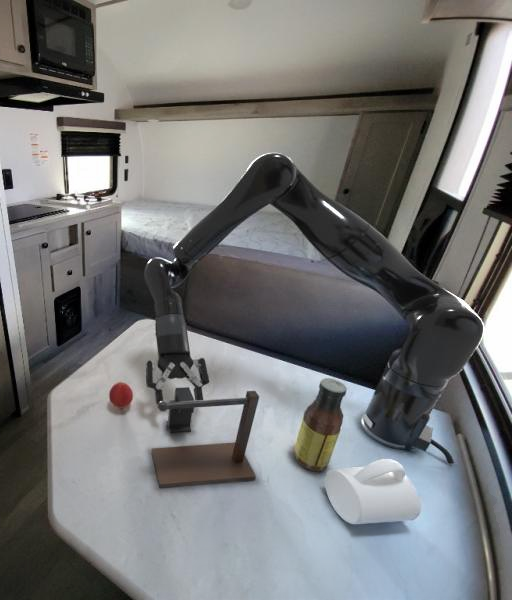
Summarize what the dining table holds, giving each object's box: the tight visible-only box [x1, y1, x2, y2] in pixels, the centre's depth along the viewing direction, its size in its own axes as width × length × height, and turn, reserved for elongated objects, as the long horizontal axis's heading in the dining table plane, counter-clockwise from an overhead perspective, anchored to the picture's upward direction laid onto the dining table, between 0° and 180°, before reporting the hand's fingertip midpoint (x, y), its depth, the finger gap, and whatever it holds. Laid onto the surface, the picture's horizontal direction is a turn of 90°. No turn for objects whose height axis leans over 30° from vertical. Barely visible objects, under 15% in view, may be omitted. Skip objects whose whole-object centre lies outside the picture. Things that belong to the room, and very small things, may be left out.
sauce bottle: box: [293, 377, 348, 472], centre depth 62 cm, size 7×6×20 cm
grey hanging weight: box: [166, 386, 195, 434], centre depth 71 cm, size 5×5×12 cm
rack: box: [151, 390, 260, 489], centre depth 61 cm, size 8×19×19 cm, turn 94°
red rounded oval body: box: [108, 380, 134, 409], centre depth 79 cm, size 6×6×8 cm
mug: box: [324, 458, 422, 525], centre depth 55 cm, size 8×10×12 cm
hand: (180, 406), depth 72 cm, fingers open, 8 cm apart
